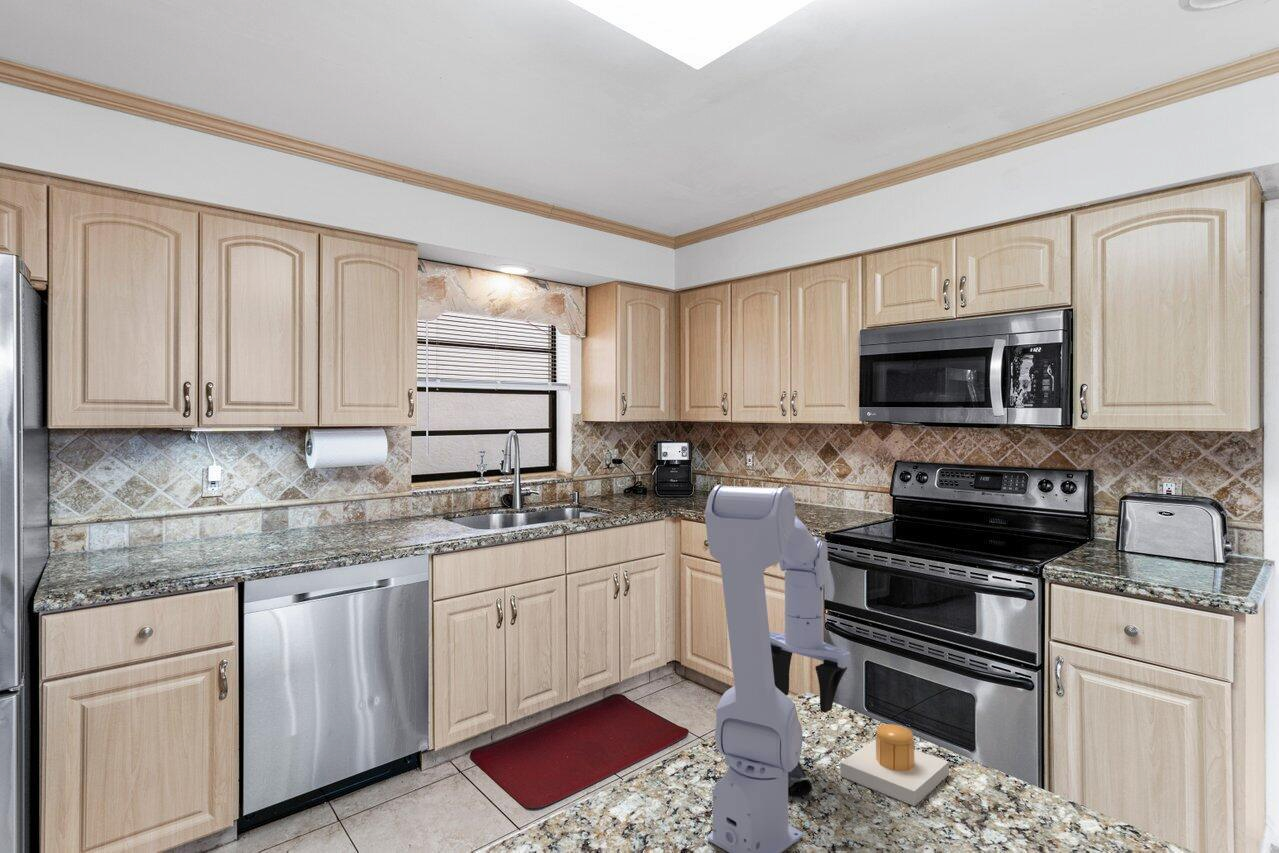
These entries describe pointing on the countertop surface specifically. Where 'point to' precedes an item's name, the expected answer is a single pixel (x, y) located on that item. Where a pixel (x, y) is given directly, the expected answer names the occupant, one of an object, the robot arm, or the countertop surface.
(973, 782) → the countertop surface
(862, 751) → the white base plate
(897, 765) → the orange acorn nut
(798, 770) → the electronic device
